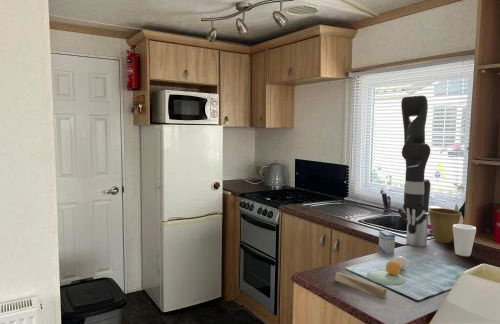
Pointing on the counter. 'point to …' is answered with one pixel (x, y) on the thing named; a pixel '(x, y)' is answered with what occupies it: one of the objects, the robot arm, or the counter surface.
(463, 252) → the foam cup
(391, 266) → the orange ball
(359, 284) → the light wooden bar
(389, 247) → the medicine box
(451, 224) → the plant pot
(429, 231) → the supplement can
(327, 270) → the counter surface
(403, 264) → the white ball
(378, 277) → the mint mark
